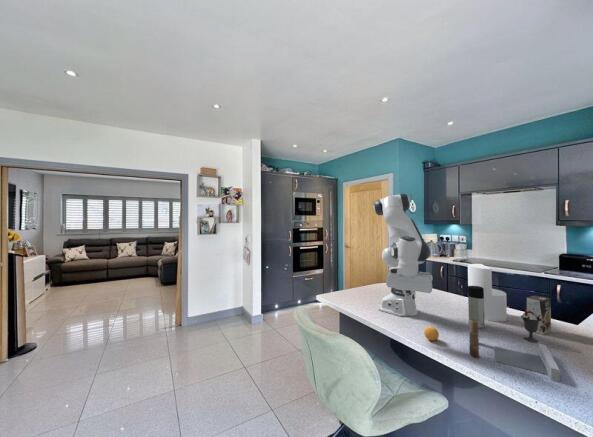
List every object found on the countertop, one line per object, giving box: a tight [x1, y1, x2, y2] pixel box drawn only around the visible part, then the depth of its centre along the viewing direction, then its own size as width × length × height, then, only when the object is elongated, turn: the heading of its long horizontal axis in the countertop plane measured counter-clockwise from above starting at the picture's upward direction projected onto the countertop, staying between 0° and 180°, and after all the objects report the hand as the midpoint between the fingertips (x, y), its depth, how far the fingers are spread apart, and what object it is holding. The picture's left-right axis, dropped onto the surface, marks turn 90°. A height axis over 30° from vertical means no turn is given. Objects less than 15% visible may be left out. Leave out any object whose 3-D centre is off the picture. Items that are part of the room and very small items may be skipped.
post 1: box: [469, 321, 479, 334], centre depth 111 cm, size 3×3×9 cm
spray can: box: [467, 285, 486, 329], centre depth 128 cm, size 7×7×20 cm
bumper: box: [538, 343, 561, 383], centre depth 92 cm, size 2×20×4 cm, turn 144°
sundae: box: [520, 305, 541, 344], centre depth 112 cm, size 7×7×15 cm
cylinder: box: [467, 263, 508, 322], centre depth 141 cm, size 17×17×28 cm
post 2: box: [468, 331, 480, 359], centre depth 100 cm, size 3×3×9 cm
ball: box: [423, 325, 440, 342], centre depth 113 cm, size 6×6×6 cm
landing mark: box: [493, 345, 548, 375], centre depth 97 cm, size 14×14×1 cm
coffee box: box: [526, 295, 552, 336], centre depth 121 cm, size 9×6×16 cm
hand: (408, 298), depth 119 cm, fingers closed
